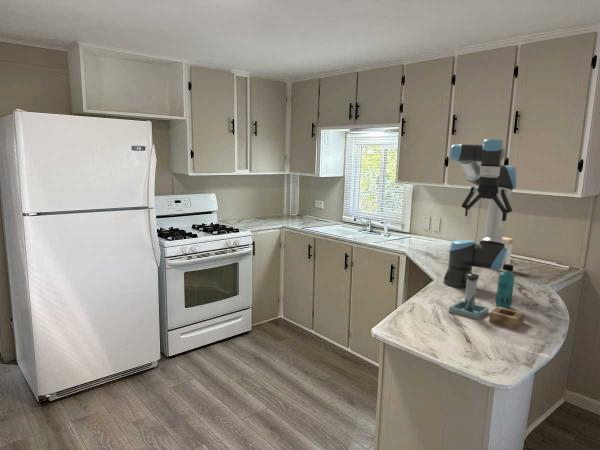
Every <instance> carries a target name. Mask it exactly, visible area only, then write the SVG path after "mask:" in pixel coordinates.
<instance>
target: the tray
mask: <svg viewBox="0 0 600 450" xmlns="http://www.w3.org/2000/svg"><path fill="white" fill-rule="evenodd" d="M464 302H465V300H459V301H457V302H456V303H454V304H452V305H451V306H449V309H448V314H452V313H453V314H454V315H455V314H456V315H460V316H462V317H466V318H471V319H474V320H480V319H481V318H482V317H483V316H485V315H487V314H488V313H489V311H490V310H489V307H487V306H483V305H481V304H476V303H475V305H474V313H473V312H469V311H465V310H464Z"/></svg>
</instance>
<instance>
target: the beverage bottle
mask: <svg viewBox="0 0 600 450" xmlns="http://www.w3.org/2000/svg"><path fill="white" fill-rule="evenodd" d="M503 269H504V270H508V271H500V272H499V274H498V281H497V287H496V288H497V289H496V295H495V305H496V307H498V306H499V307H503V308H507V309H509V308H510V307H511V306H512V303H513V293H514V285H515V277H516V276H515V274H514V273H513V272H512V271H514V265H513V264H510V265H509V264H504V265H503Z"/></svg>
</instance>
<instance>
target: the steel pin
mask: <svg viewBox="0 0 600 450" xmlns="http://www.w3.org/2000/svg"><path fill="white" fill-rule="evenodd" d="M466 277H467V283H466V288H465V295H464V310H465V311H469V312H473V313H474V305H475V304H476V294H477V285H478V279H479V277H480V276H479V274H476V273H473V272H472V273H467V274H466Z"/></svg>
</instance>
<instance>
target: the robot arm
mask: <svg viewBox="0 0 600 450" xmlns="http://www.w3.org/2000/svg"><path fill="white" fill-rule="evenodd" d="M503 143H504V142H503V140H502V139H499V138H497V139H492V138H490V139H489V138H488V139H484V140H483V143H482V144H466V143H465V144H463V143H459V144H457V143H455V144H452V145H451V147H450V150H449V151H450V152H449V158H450V160H451V161H452V162H458V163H459V165H460V166H461V168H462V173H463V176H464V179H466V180H467V181H468V182H470V183H471V184H473V185H475V186H471V187H470V190H469V193H468V195H467V196H466V198H465V199H464V201H463V202H462V204H461V208H464V209H465V213H464V214H465V215H464V217H466V225H470V224H471V223H472V222H471V220H472V212H473V211H472V209H471V208H472V207H473V206H474V205H475V204H477V202H478V201H480V200H481V199H487V200H488V207H487V212H486V214H487V215H486V218H485V219H486V220H485V227H484V233H483V238H482V239H480V240H479V243H476V242H475V240H472V239H457V240H454V241H451V243H450V247H449V255H448V256H449V257H448V265H447V266H448V267H447V270H446V272H445V274H444V277H443V281H442V282H443V284H444V285H447V286H449V285H450V287H453V286H454V287H453V288H459V287H461V289H466V283H467V277H466V274H467V273H472V274H473V267H475V268H479V269H480V268H482V269H487V270H494V271H495V270H496V271H499V270H500V269H501V268H502V267H503V265H504V262H505V258H506V254H507V248H506V247H505V244H504V242H503V241H502V237H504V236H503V235H504V229H505V222H506V221H507V215H508V214H509V213H512V212H513V209H512V206H511V204H510V201H509V195H511V194H512V193H513V190H516V188H517V169H516V167H515V165H507V164H502V162H501V161H502V160H503V159H504V157H505V154H506V153H505V149H504V144H503ZM480 163H481V164H480ZM476 186H478V187H476ZM475 193H478V194H477V195H476V196H475V197H474V198H473V196H474V195H475ZM472 198H473V200H472Z"/></svg>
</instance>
